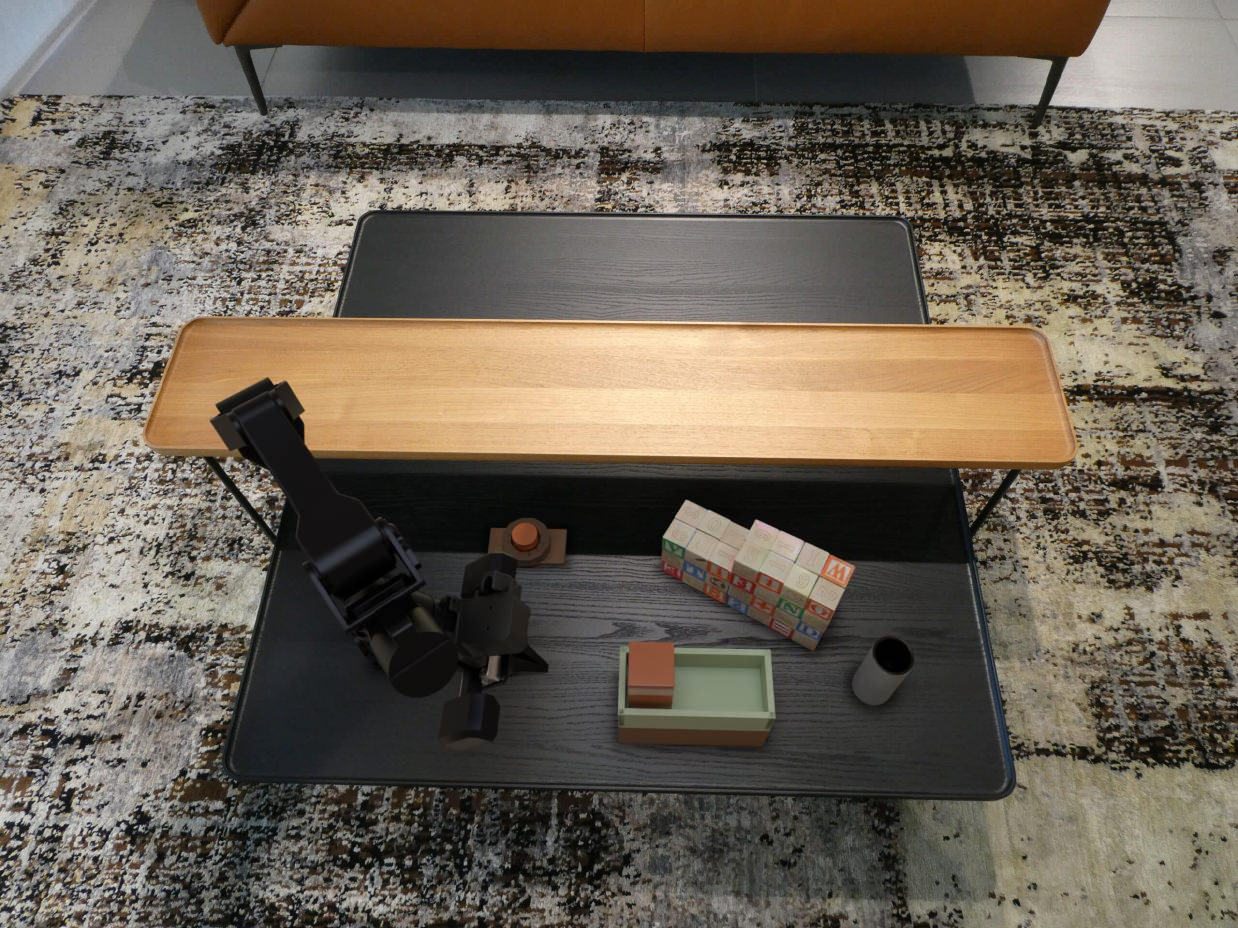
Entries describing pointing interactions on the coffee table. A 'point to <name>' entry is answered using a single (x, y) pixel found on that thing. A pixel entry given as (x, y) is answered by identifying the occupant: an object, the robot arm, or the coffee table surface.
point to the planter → (883, 670)
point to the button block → (544, 553)
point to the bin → (705, 700)
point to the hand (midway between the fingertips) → (546, 669)
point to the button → (525, 537)
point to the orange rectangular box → (651, 675)
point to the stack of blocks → (757, 571)
